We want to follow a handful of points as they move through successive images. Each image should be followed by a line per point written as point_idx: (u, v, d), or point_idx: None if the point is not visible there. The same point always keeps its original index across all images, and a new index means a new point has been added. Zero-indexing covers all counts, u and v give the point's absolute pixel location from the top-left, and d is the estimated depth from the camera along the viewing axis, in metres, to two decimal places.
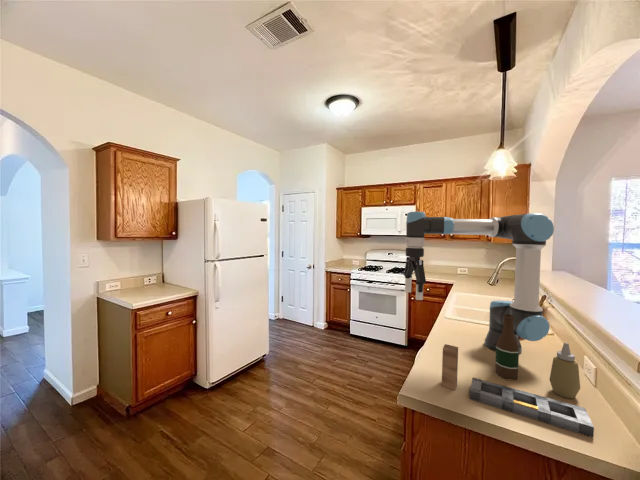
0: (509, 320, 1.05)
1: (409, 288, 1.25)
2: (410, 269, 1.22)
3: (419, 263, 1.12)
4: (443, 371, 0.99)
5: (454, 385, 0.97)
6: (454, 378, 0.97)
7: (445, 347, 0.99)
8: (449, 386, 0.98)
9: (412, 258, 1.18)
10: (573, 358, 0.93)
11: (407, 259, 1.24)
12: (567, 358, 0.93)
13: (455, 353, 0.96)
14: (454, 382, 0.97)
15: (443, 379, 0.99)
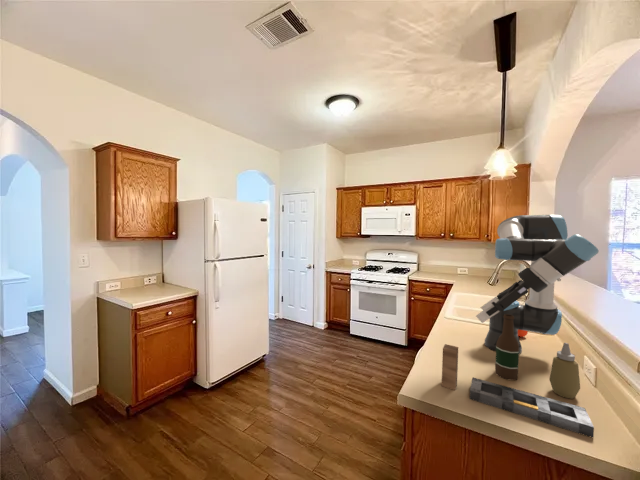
0: (509, 320, 1.05)
1: None
2: None
3: None
4: (443, 371, 0.99)
5: (454, 385, 0.97)
6: (454, 378, 0.97)
7: (445, 347, 0.99)
8: (449, 386, 0.98)
9: None
10: (573, 358, 0.93)
11: None
12: (567, 358, 0.93)
13: (455, 353, 0.96)
14: (454, 382, 0.97)
15: (443, 379, 0.99)
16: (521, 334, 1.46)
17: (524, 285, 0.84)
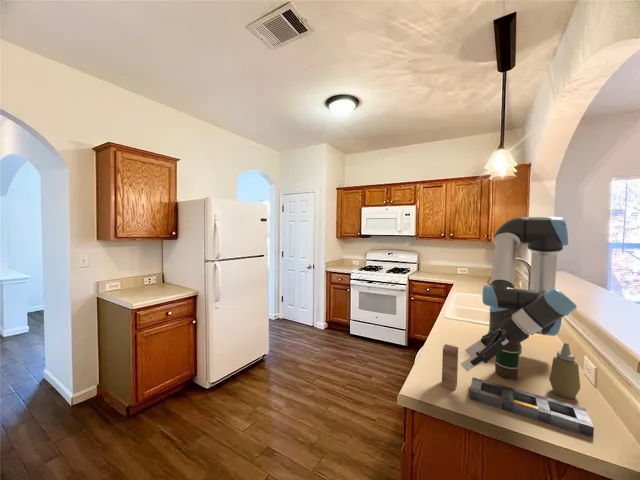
0: None
1: None
2: None
3: None
4: (443, 371, 0.99)
5: (454, 385, 0.97)
6: (454, 378, 0.97)
7: (445, 347, 0.99)
8: (449, 386, 0.98)
9: None
10: (573, 358, 0.93)
11: None
12: (567, 358, 0.93)
13: (455, 353, 0.96)
14: (454, 382, 0.97)
15: (443, 379, 0.99)
16: None
17: (507, 336, 0.86)
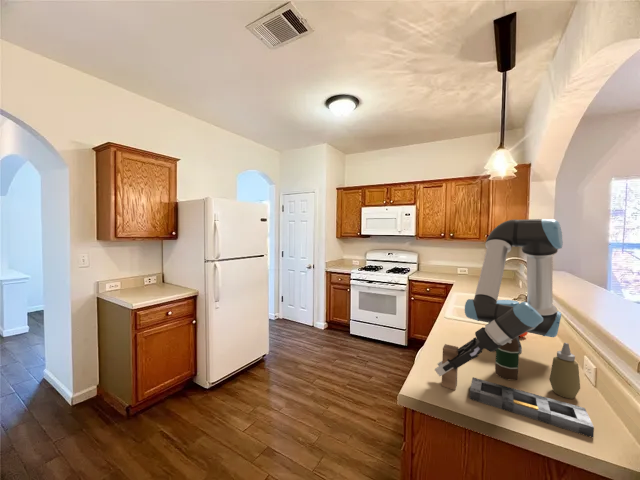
0: None
1: None
2: None
3: None
4: None
5: (454, 385, 0.97)
6: (454, 378, 0.97)
7: (445, 347, 0.99)
8: (449, 386, 0.98)
9: None
10: (573, 358, 0.93)
11: None
12: (567, 358, 0.93)
13: (455, 353, 0.96)
14: (454, 382, 0.97)
15: (443, 379, 0.99)
16: None
17: (479, 346, 0.91)
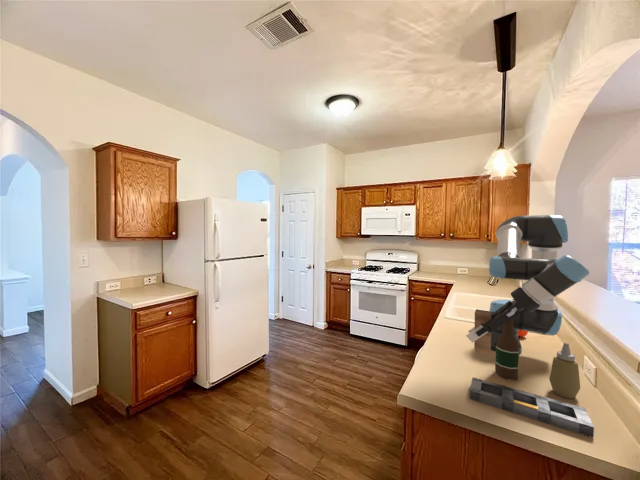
0: (509, 320, 1.05)
1: None
2: None
3: None
4: None
5: (488, 351, 0.90)
6: (488, 343, 0.90)
7: (477, 311, 0.92)
8: (483, 353, 0.91)
9: None
10: (573, 358, 0.93)
11: None
12: (567, 358, 0.93)
13: (489, 316, 0.90)
14: (488, 348, 0.90)
15: (476, 345, 0.92)
16: (521, 334, 1.46)
17: (517, 305, 0.84)
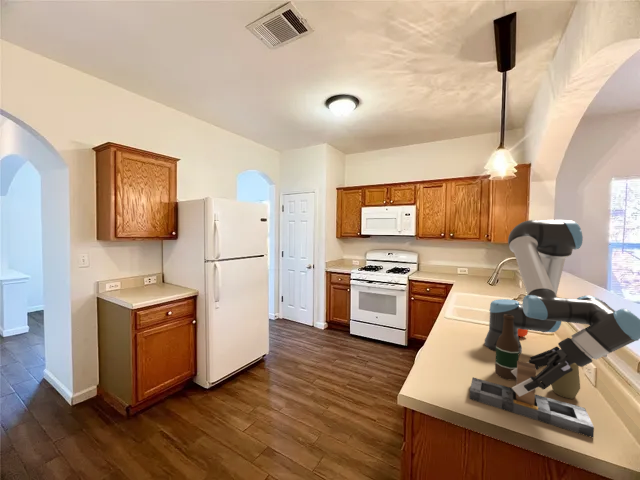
0: (509, 320, 1.05)
1: None
2: None
3: None
4: None
5: None
6: (533, 400, 0.84)
7: (520, 364, 0.87)
8: None
9: None
10: None
11: None
12: None
13: (534, 372, 0.84)
14: None
15: None
16: (521, 334, 1.46)
17: (567, 359, 0.79)
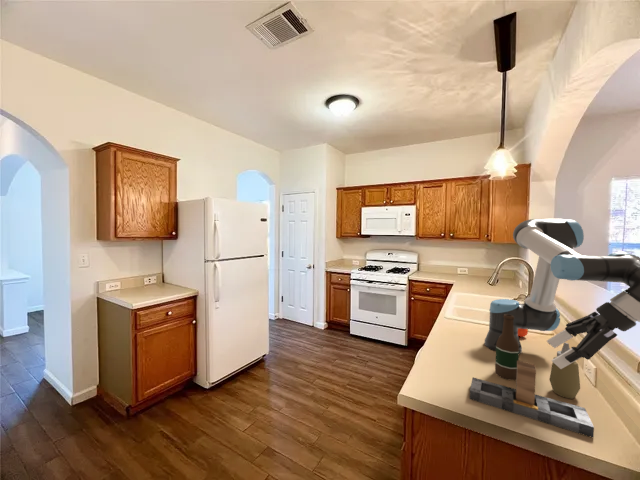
0: (509, 320, 1.05)
1: None
2: None
3: None
4: (518, 392, 0.86)
5: None
6: (532, 400, 0.84)
7: (520, 364, 0.87)
8: None
9: None
10: None
11: None
12: None
13: (534, 372, 0.84)
14: None
15: None
16: (521, 334, 1.46)
17: (609, 325, 0.73)
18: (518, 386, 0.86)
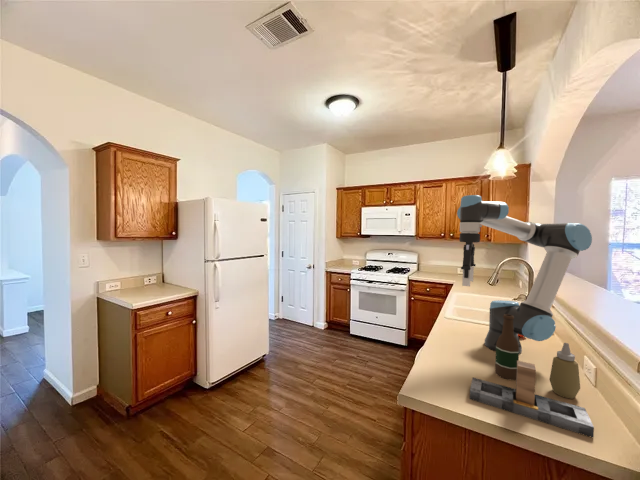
0: (509, 320, 1.05)
1: None
2: None
3: None
4: (518, 392, 0.86)
5: None
6: (532, 400, 0.84)
7: (520, 364, 0.87)
8: None
9: (472, 244, 1.14)
10: (573, 358, 0.93)
11: (471, 247, 1.08)
12: (567, 358, 0.93)
13: (534, 372, 0.84)
14: None
15: None
16: None
17: (467, 244, 1.11)
18: (518, 386, 0.86)
